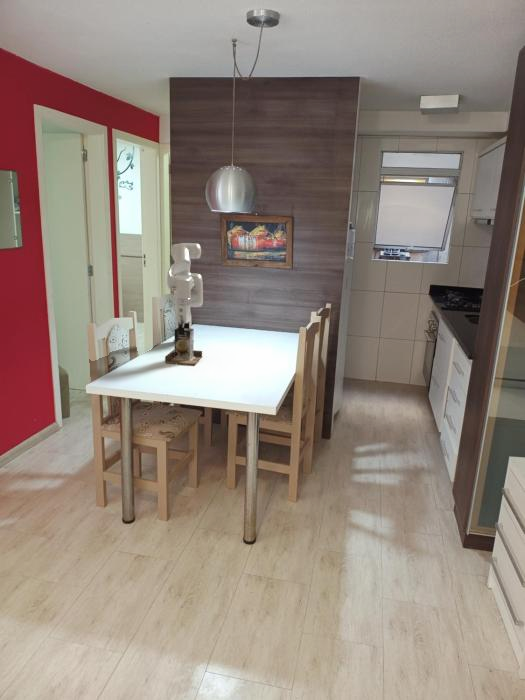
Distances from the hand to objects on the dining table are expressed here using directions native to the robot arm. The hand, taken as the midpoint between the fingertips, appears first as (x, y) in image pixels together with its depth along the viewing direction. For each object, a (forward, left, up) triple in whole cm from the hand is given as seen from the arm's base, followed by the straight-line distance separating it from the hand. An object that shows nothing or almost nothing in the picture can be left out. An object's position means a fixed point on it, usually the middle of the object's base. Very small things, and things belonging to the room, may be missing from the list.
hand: (183, 332), depth 284 cm
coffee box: (0, 0, -14) cm, 14 cm away
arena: (+3, +1, -15) cm, 15 cm away
